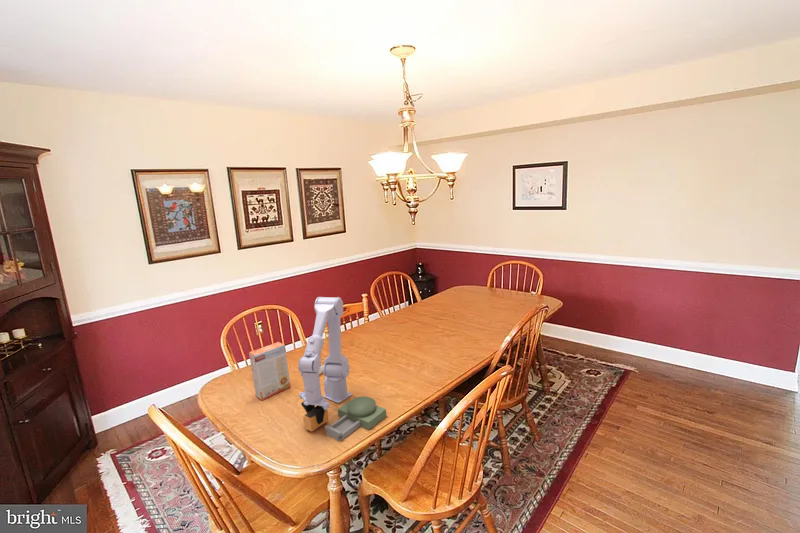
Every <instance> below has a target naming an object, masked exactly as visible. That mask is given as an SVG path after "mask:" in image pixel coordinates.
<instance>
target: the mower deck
mask: <svg viewBox="0 0 800 533" xmlns="http://www.w3.org/2000/svg"><path fill="white" fill-rule="evenodd" d="M337 416H338V417H340V418H339V419H337V420H336V421H334V422H333V423H332V424H330V425H328V424H326V425H324V431H325V435H327V436H329V437H330V438H333V439H334V440H337V441H338V442H342V441H343V440H344V439H346V438H347V437H348V436H350V435H351V434H352V433H354V432H355V431H356V430H358V429H359V428H360V427H361V428H363V429H366V430H368V431H370V430H371V429H373V427H375V426H376V425H377V424H379V423H380V422H381V421H382V420H383V419H385V418H386V417H387V408H384V407H382V406H379V405H377V403H376V400H375V399H374V398H372V397H370V396H358V397H356V396H355V397H354V398H352V399H350V400H349V401H348V402H346V403H345V404H343V405H342V406H340V407H338V408H337Z"/></svg>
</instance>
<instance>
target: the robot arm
mask: <svg viewBox="0 0 800 533" xmlns="http://www.w3.org/2000/svg"><path fill="white" fill-rule="evenodd" d="M313 308H314V312H315V314H316V316H315V321H314V328H313V330H312V335H311V336H309V337H308V339H307V343H306V346H305V350H304V353H303V355H302V356H301V357H300V358H299V361H298V368H297V369H298V371H299V372H300V376H301V377H302V379H303V380H302V381H303V388H304V391H301V392H299V394H298V396H299V397H298V398H299V399H300V400H303V402H301V403H300V404H301V406H302V407H303V409H304V411H305V412H306V414H307V413H308V412H310V411H312V410H313V411H314V413H315V416H316V420H317V423H318V424H320V423H322V422H323V418H324V413H325V410H327V411H328V409H330V402H328V400H330V401H332V402H335V403H337V404H340V403H342V402H343V401H344V400H346V399H348V398H349V397H351V396H352V395H353V393H351V392H349V391H348V385H347V383H348V382H347V378H348V376H349V375H350V371H351V370H350V368H351V367H350V365H349V364H350V363H349V358H348V357H347V356H346V355H343V354H342V334H341V332H342V330H341V317H342V316H343V315H344V301H343V300H342V298H341V297H340V296H337V297H330V296H329V297H328V296H327V297H325V296H318V297H316V299H315V301H314V307H313ZM327 325H328V326H327ZM326 327H327V328H328V330H327V331H328V356H327V357H326V358H325V359H324V360H323V361H324V362H323V365H324V366H323V371H322V373H323V375H324V379H323V387H324V388H323V389H324V395H323V396H322V388H321V380H320V374H319V370H320V367H321V365H322V356H321V354H322V351H323V346H324V343H325V340H324V339H323V335H324V333H325V330H326ZM326 399H328V400H326Z"/></svg>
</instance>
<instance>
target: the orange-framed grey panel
mask: <svg viewBox="0 0 800 533" xmlns="http://www.w3.org/2000/svg"><path fill="white" fill-rule="evenodd" d="M328 413H329V412H328V409H327V410H325V413H324V418H323V422H322V423H320V424H318V423H317V420H316V416H315V413H314V411H313V410H312V411H310V412H308V413H307V412H306V413H305V414H304V415H302V417H303V423H304V429H306V430H308V431H310V432H314V431H315V430H317V429H318V428H320V427H321V426H322V425H324V424H326V423H327V422H328V421H329V414H328Z"/></svg>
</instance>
